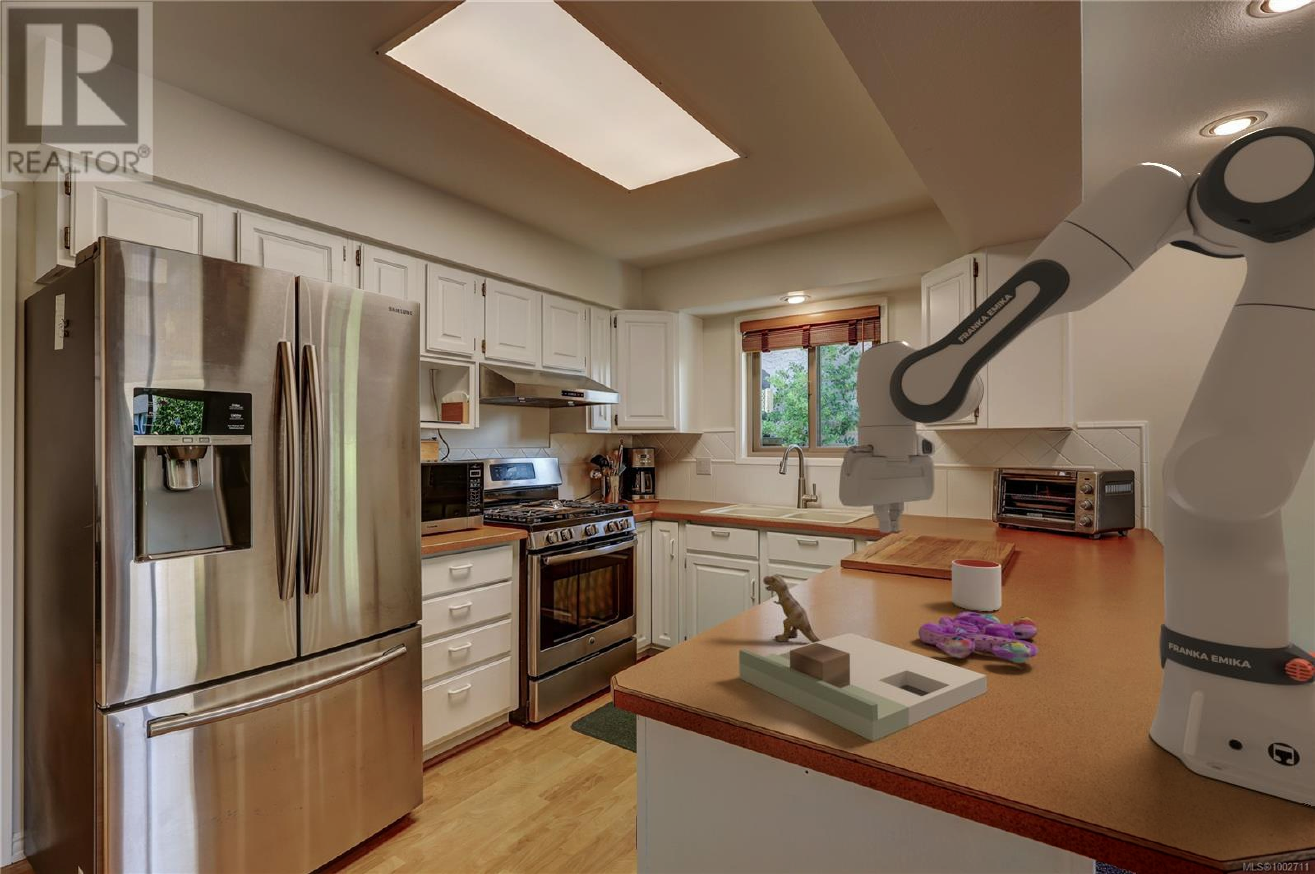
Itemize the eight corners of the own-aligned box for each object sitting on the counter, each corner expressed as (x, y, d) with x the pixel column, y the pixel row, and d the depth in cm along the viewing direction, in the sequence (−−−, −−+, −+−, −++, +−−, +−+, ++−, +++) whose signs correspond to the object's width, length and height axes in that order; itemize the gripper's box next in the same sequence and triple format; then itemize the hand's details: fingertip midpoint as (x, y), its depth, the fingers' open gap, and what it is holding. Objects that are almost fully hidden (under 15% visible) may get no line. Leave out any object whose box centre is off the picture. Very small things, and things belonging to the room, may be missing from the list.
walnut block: (849, 684, 88) (849, 653, 88) (823, 694, 84) (822, 662, 84) (816, 672, 93) (816, 642, 93) (790, 681, 89) (789, 650, 89)
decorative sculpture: (900, 656, 109) (1028, 678, 95) (899, 628, 109) (1026, 647, 95) (952, 624, 130) (1063, 639, 116) (951, 602, 130) (1061, 614, 116)
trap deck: (986, 692, 91) (986, 662, 91) (872, 741, 76) (872, 705, 76) (850, 646, 112) (849, 622, 112) (739, 678, 97) (739, 650, 97)
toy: (744, 603, 122) (772, 565, 120) (817, 661, 118) (848, 622, 116) (737, 615, 115) (767, 575, 113) (814, 676, 111) (847, 636, 109)
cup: (1002, 605, 140) (1002, 561, 140) (1000, 615, 132) (1000, 569, 132) (954, 599, 145) (954, 557, 146) (949, 609, 137) (949, 564, 137)
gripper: (862, 445, 88) (864, 540, 88) (941, 444, 100) (943, 528, 100) (827, 445, 94) (830, 535, 93) (906, 444, 105) (908, 524, 105)
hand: (889, 531), depth 97 cm, fingers closed
